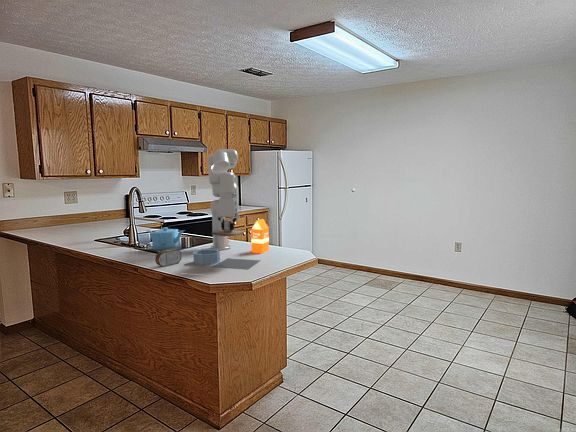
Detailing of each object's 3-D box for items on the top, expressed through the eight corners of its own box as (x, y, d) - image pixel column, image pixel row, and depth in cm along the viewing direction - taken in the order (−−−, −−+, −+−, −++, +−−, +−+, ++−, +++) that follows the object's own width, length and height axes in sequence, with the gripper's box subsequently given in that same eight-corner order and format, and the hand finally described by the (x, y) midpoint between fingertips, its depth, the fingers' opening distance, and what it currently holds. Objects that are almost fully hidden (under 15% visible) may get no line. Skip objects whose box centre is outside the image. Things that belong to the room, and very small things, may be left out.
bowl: (201, 258, 222) (201, 248, 222) (223, 260, 219) (223, 249, 218) (188, 264, 209) (188, 253, 208) (212, 266, 205) (212, 255, 205)
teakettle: (172, 246, 258) (171, 224, 256) (187, 250, 245) (186, 227, 243) (145, 250, 245) (143, 227, 243) (158, 255, 232) (157, 230, 230)
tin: (179, 262, 216) (179, 247, 215) (182, 262, 214) (182, 247, 213) (155, 267, 204) (154, 251, 203) (158, 268, 202) (157, 252, 201)
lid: (219, 229, 219) (219, 217, 218) (248, 231, 215) (248, 219, 214) (206, 235, 202) (205, 222, 202) (236, 236, 198) (236, 223, 198)
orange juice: (251, 252, 240) (250, 220, 238) (258, 249, 248) (258, 218, 246) (262, 253, 237) (262, 220, 234) (269, 250, 245) (269, 219, 242)
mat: (227, 259, 221) (227, 258, 221) (260, 261, 216) (260, 260, 216) (211, 268, 202) (211, 266, 202) (247, 270, 197) (247, 269, 197)
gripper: (244, 195, 208) (244, 229, 210) (215, 195, 212) (216, 228, 214) (239, 196, 200) (239, 231, 203) (209, 196, 204) (210, 230, 207)
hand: (227, 229), depth 208 cm, fingers closed on lid, 4 cm apart
